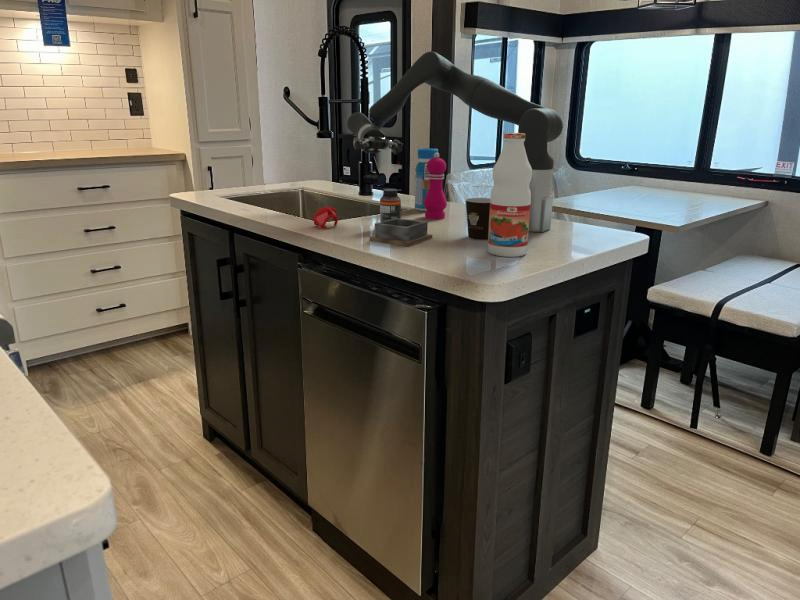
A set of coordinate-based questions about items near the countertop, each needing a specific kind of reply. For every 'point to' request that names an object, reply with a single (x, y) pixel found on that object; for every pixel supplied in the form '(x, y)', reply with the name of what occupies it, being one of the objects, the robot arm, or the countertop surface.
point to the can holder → (401, 232)
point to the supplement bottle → (390, 205)
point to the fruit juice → (510, 199)
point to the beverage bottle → (422, 176)
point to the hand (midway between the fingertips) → (382, 150)
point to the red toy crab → (325, 216)
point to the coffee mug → (478, 218)
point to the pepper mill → (435, 189)
